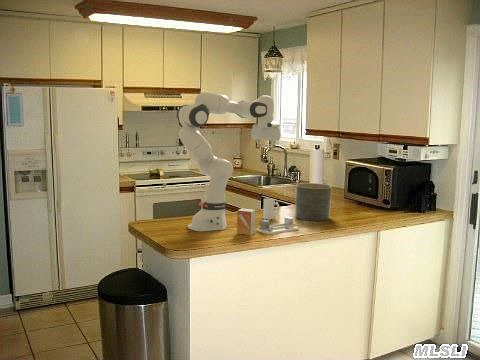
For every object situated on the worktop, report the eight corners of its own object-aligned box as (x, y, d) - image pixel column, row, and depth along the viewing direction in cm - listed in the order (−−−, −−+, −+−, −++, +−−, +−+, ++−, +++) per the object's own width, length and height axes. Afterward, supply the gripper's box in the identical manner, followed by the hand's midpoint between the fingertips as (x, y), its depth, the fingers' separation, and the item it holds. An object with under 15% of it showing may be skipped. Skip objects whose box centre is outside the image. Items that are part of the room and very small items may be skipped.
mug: (261, 219, 307) (262, 199, 305) (264, 217, 313) (265, 198, 312) (277, 220, 304) (278, 201, 302) (280, 218, 310) (281, 199, 308)
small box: (236, 234, 269) (237, 210, 268) (240, 231, 275) (241, 208, 273) (250, 235, 266) (251, 211, 265) (254, 233, 272) (255, 209, 270)
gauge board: (268, 234, 269) (268, 223, 269) (256, 230, 278) (257, 220, 277) (299, 229, 282) (299, 219, 281) (287, 226, 290) (287, 216, 289)
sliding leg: (294, 228, 280) (294, 220, 279) (284, 224, 287) (284, 217, 286) (298, 227, 282) (298, 219, 281) (288, 224, 288) (288, 216, 288)
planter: (336, 217, 317) (338, 186, 314) (317, 223, 301) (318, 189, 298) (307, 212, 332) (309, 182, 329) (287, 217, 315) (288, 185, 313)
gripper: (249, 123, 298) (248, 146, 300) (275, 124, 284) (274, 149, 285) (256, 123, 302) (255, 146, 304) (282, 124, 288) (281, 148, 290)
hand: (265, 147), depth 295 cm, fingers open, 8 cm apart
